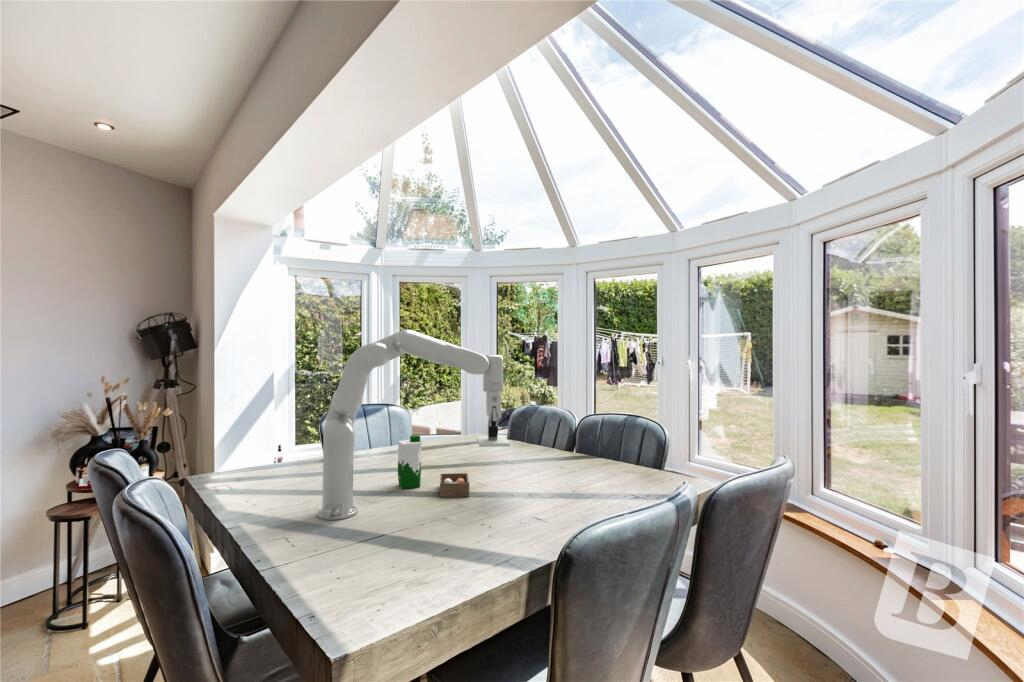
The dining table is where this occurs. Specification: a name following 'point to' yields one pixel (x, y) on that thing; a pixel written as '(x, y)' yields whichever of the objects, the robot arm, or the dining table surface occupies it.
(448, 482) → the ball cream
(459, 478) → the ball terracotta
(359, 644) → the dining table surface
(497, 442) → the lid
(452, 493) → the box
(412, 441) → the milk carton
